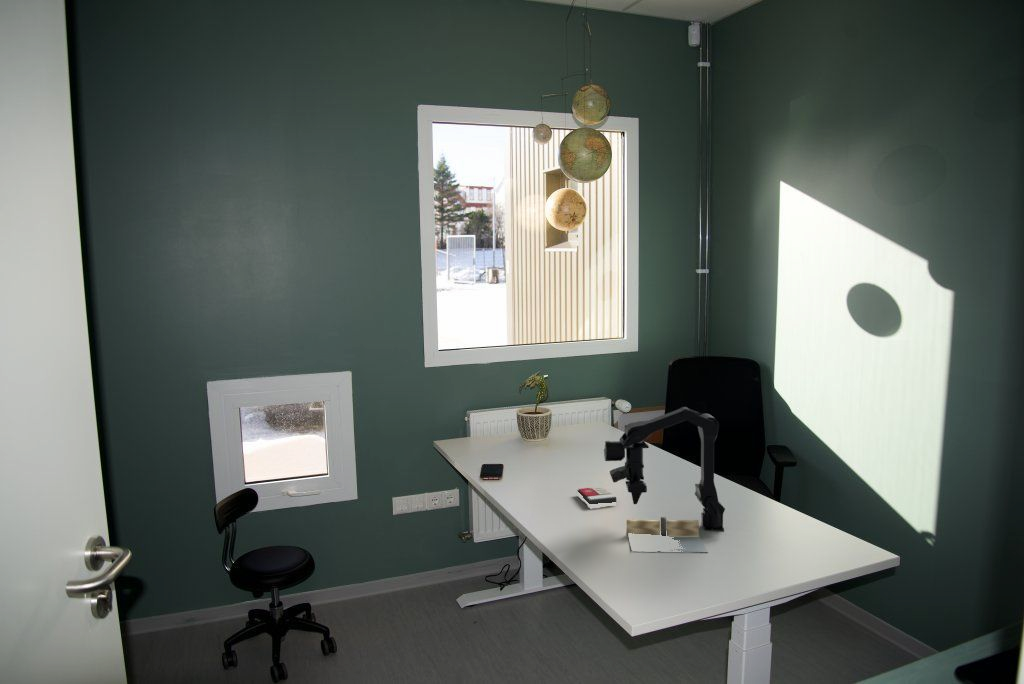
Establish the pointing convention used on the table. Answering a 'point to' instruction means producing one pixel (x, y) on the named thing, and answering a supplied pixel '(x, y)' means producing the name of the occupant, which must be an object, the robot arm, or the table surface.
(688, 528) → the fence base
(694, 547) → the card
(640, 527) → the fence panel
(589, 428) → the table surface
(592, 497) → the red and black book
